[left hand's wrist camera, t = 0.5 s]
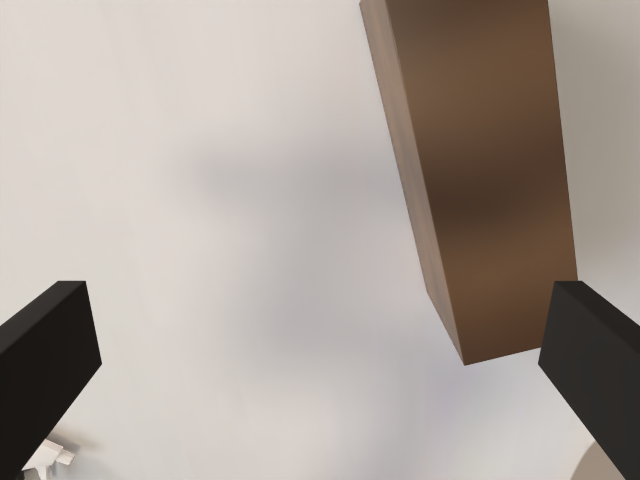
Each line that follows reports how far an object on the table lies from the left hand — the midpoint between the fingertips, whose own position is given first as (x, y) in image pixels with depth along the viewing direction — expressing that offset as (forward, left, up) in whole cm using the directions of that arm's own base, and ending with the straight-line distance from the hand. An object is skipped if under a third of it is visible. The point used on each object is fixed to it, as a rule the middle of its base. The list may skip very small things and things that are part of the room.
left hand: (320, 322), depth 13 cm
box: (+4, -9, -23) cm, 25 cm away
